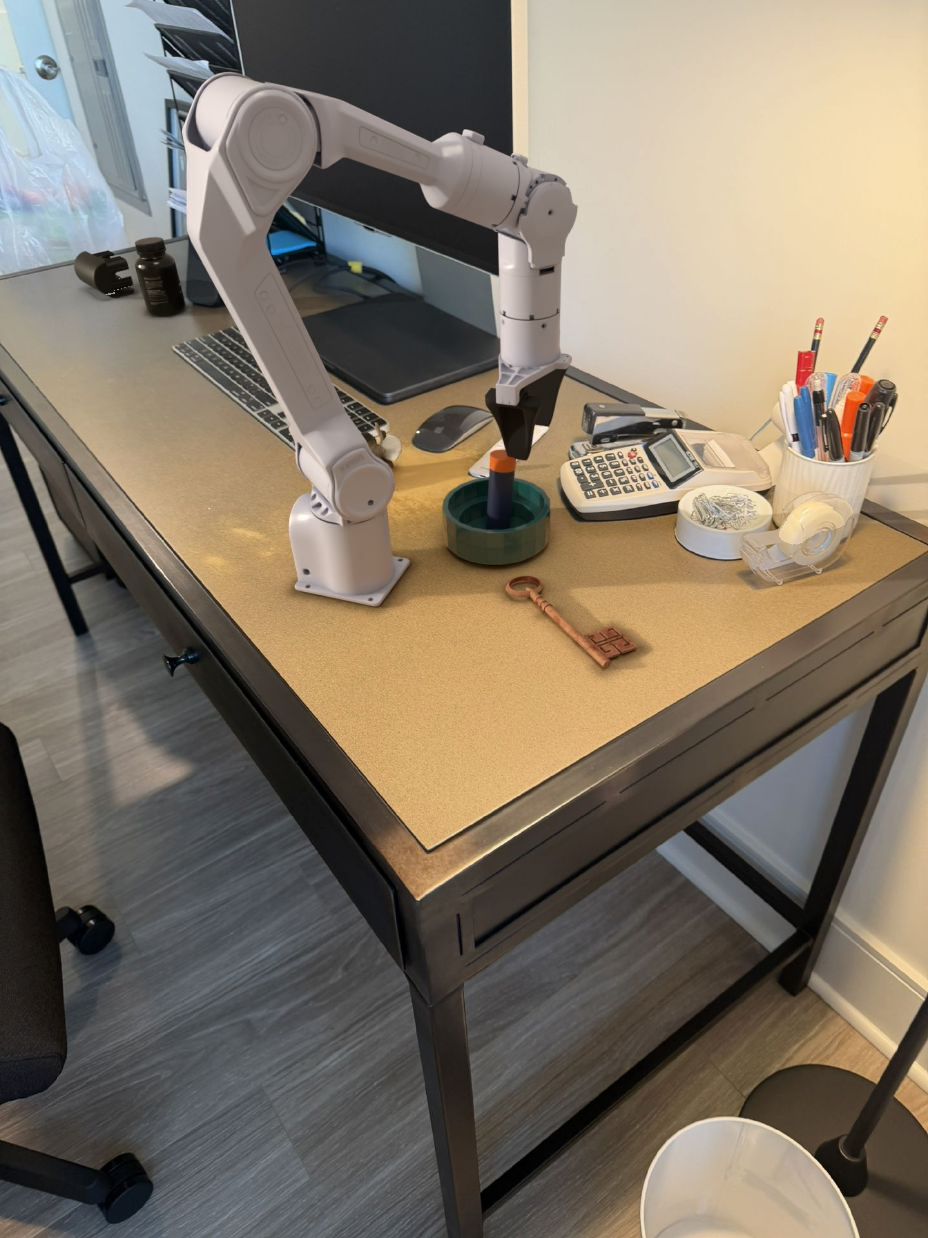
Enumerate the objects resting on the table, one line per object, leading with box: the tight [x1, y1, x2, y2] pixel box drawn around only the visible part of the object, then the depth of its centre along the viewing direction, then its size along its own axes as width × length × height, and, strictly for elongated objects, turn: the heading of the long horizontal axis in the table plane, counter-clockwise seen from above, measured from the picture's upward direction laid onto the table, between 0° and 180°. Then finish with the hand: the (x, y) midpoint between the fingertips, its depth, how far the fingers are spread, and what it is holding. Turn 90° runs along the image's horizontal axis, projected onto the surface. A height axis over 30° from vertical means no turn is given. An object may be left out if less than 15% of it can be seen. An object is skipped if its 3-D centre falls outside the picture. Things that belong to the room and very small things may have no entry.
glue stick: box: [486, 449, 517, 530], centre depth 89 cm, size 3×3×9 cm
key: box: [505, 575, 638, 669], centre depth 81 cm, size 6×1×15 cm
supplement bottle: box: [134, 236, 187, 317], centre depth 150 cm, size 7×7×12 cm
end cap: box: [73, 250, 135, 299], centre depth 162 cm, size 10×7×7 cm
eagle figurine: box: [360, 422, 403, 469], centre depth 102 cm, size 8×7×9 cm
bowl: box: [441, 476, 551, 566], centre depth 91 cm, size 11×11×4 cm
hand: (529, 440), depth 89 cm, fingers open, 7 cm apart
